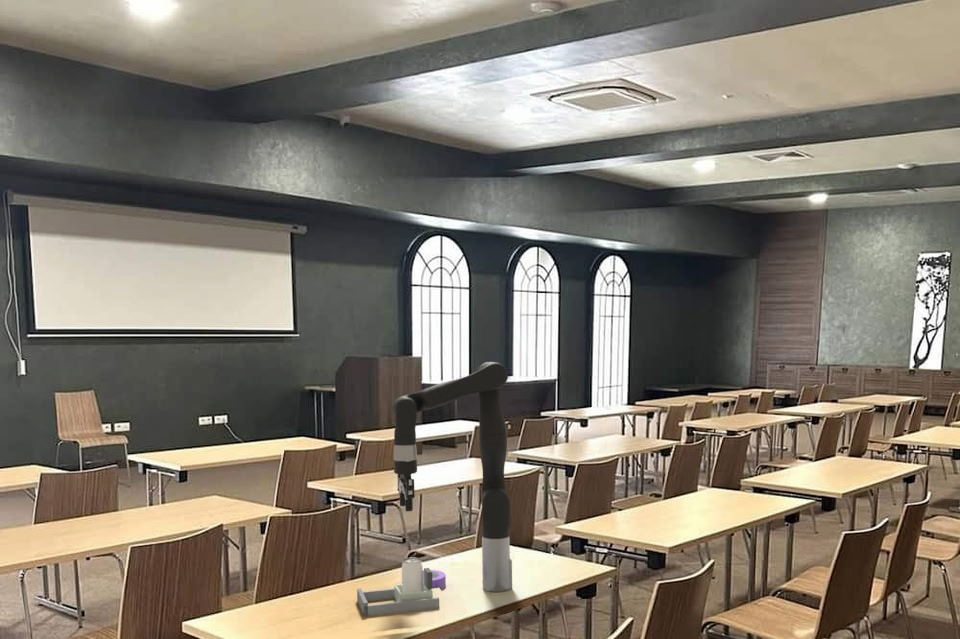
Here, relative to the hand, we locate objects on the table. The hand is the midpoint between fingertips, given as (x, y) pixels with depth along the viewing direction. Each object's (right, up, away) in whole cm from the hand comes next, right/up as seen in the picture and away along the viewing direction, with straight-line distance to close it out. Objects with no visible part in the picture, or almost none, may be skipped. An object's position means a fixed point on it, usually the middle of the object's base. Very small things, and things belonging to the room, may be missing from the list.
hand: (406, 508), depth 248 cm
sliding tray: (+3, -27, -10) cm, 29 cm away
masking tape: (+7, -29, +10) cm, 32 cm away
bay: (-1, -28, -12) cm, 30 cm away
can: (+3, -26, -9) cm, 28 cm away
